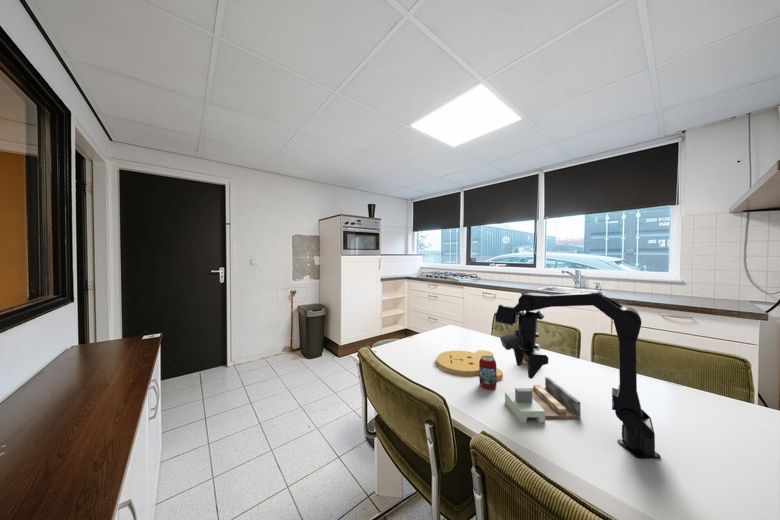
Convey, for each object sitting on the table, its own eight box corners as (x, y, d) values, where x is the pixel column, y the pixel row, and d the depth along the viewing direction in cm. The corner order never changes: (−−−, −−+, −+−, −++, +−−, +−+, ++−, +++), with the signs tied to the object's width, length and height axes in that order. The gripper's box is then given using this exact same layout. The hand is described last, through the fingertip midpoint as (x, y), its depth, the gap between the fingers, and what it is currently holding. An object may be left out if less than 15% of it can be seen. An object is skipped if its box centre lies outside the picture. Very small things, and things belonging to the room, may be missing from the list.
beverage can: (478, 388, 107) (478, 359, 107) (480, 380, 113) (480, 354, 113) (495, 391, 104) (495, 362, 104) (497, 384, 110) (497, 356, 110)
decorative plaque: (435, 377, 118) (505, 382, 112) (435, 371, 118) (504, 376, 112) (437, 352, 149) (491, 355, 143) (437, 347, 149) (491, 350, 143)
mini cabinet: (545, 423, 85) (545, 399, 84) (520, 423, 85) (520, 399, 85) (526, 402, 97) (526, 381, 96) (505, 402, 97) (504, 381, 97)
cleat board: (580, 418, 86) (580, 402, 86) (544, 418, 87) (544, 402, 86) (548, 390, 104) (548, 377, 104) (518, 390, 105) (518, 377, 104)
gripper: (494, 319, 100) (492, 358, 101) (514, 336, 81) (511, 384, 82) (524, 321, 99) (521, 360, 100) (551, 338, 81) (547, 386, 82)
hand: (524, 371), depth 91 cm, fingers open, 9 cm apart
